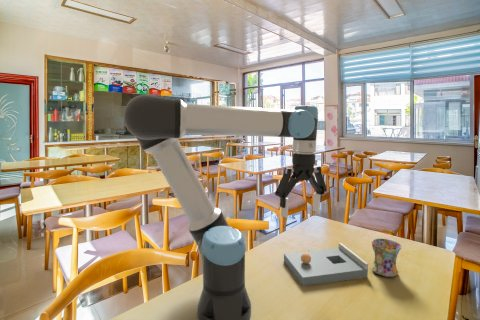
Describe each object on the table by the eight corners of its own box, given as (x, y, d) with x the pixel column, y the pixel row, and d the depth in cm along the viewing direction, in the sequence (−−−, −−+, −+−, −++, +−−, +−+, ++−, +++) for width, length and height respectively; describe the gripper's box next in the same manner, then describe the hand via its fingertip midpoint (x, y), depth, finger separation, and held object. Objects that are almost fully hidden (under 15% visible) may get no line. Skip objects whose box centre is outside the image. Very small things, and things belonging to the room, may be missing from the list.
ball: (303, 266, 102) (303, 256, 101) (299, 261, 105) (299, 251, 105) (312, 265, 103) (313, 255, 102) (308, 260, 106) (308, 250, 106)
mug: (405, 277, 100) (407, 248, 98) (381, 280, 98) (383, 251, 96) (382, 260, 111) (384, 234, 110) (360, 263, 110) (361, 236, 108)
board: (302, 286, 95) (302, 271, 94) (283, 261, 112) (284, 248, 111) (367, 277, 100) (368, 263, 99) (340, 254, 117) (341, 242, 116)
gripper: (279, 155, 88) (276, 222, 91) (340, 152, 99) (335, 212, 102) (266, 152, 95) (263, 215, 98) (324, 150, 106) (321, 206, 109)
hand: (300, 214), depth 100 cm, fingers open, 13 cm apart
